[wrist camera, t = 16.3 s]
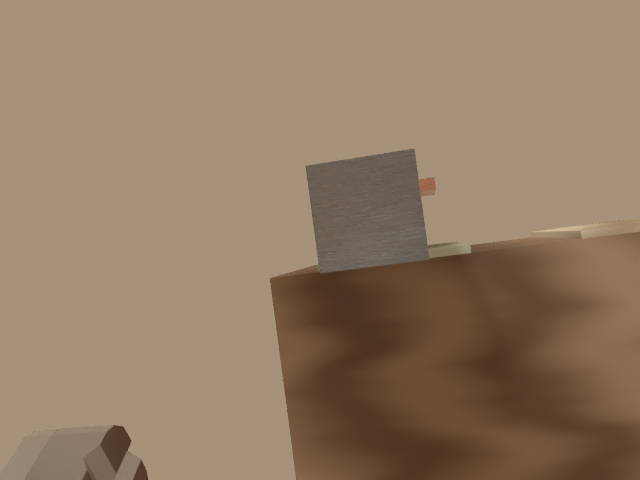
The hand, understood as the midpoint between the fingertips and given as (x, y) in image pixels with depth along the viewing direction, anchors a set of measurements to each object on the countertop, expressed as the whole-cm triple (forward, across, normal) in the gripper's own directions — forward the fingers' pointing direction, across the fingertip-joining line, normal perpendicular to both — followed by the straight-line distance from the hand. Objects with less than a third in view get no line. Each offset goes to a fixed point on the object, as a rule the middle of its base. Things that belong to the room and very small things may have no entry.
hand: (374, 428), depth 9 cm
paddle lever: (+15, 0, +6) cm, 16 cm away
